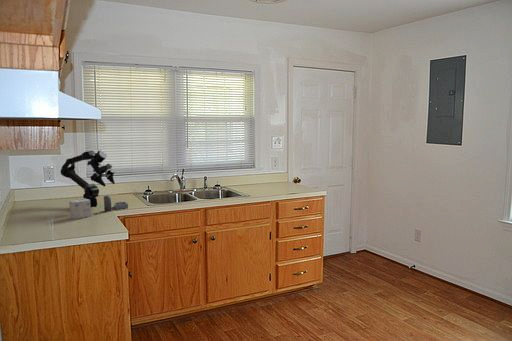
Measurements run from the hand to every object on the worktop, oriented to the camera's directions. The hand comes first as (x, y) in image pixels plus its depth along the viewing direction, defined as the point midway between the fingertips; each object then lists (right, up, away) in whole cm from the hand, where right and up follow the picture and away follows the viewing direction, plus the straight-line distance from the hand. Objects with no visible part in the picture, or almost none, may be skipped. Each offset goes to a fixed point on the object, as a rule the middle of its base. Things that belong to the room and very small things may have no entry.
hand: (109, 185), depth 275 cm
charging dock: (+7, -16, +3) cm, 17 cm away
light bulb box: (-10, -19, -22) cm, 31 cm away
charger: (+1, -17, -7) cm, 18 cm away
